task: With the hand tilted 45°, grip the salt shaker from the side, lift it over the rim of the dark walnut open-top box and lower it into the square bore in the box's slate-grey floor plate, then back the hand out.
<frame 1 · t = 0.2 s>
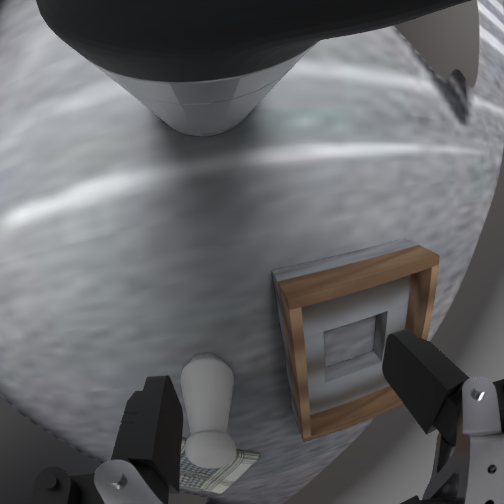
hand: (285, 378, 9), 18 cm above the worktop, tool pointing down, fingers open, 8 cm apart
bore box: (347, 337, 32), on the worktop
salt shaker: (206, 364, 30), on the worktop
dish towel: (189, 462, 38), on the worktop
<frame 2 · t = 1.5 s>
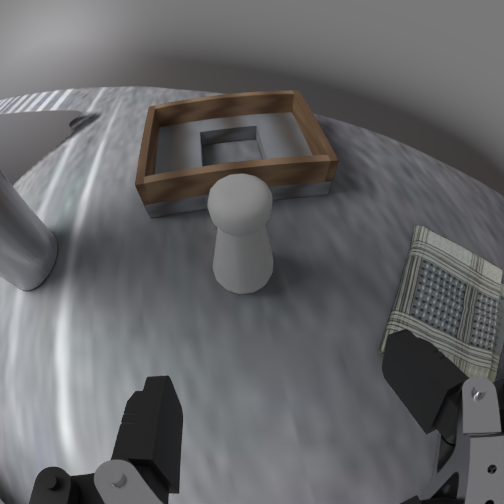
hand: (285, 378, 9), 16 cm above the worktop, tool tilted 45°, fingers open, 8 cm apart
bore box: (232, 159, 37), on the worktop
salt shaker: (243, 275, 29), on the worktop
dish towel: (452, 317, 27), on the worktop
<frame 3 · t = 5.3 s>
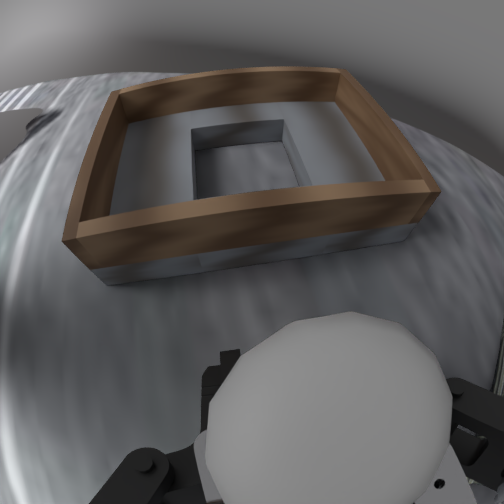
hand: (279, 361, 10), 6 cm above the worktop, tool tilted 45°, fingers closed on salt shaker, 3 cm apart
bore box: (245, 175, 22), on the worktop
salt shaker: (275, 405, 14), on the worktop, touching gripper
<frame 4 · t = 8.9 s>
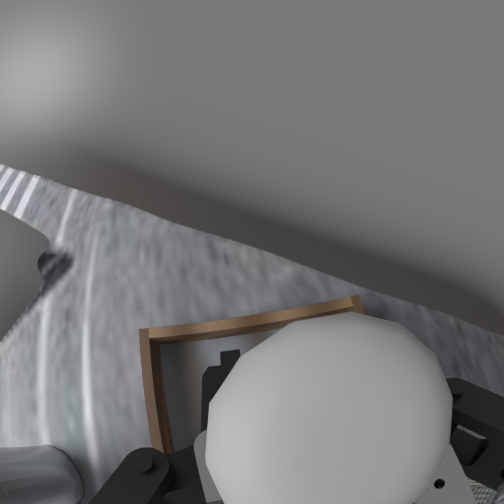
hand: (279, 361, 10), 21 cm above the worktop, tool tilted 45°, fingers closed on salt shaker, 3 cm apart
bore box: (263, 397, 27), on the worktop
salt shaker: (275, 405, 14), point 15 cm above the worktop, touching gripper
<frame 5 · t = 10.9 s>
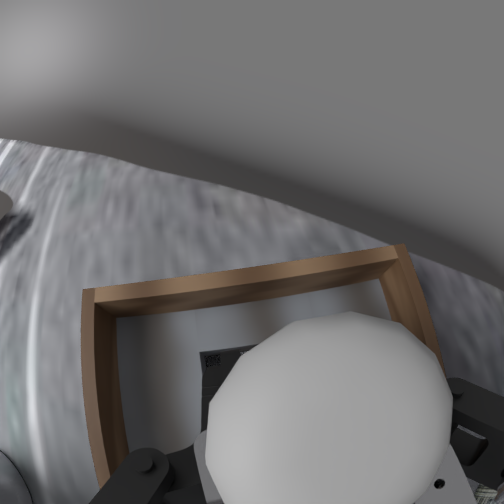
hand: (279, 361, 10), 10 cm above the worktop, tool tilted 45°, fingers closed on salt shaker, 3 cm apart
bore box: (266, 400, 18), on the worktop
salt shaker: (275, 405, 14), point 4 cm above the worktop, touching gripper
when the fingers open (7 cm above the worktop, at t = 12.8 s): salt shaker drops 1 cm, resting in bore box.
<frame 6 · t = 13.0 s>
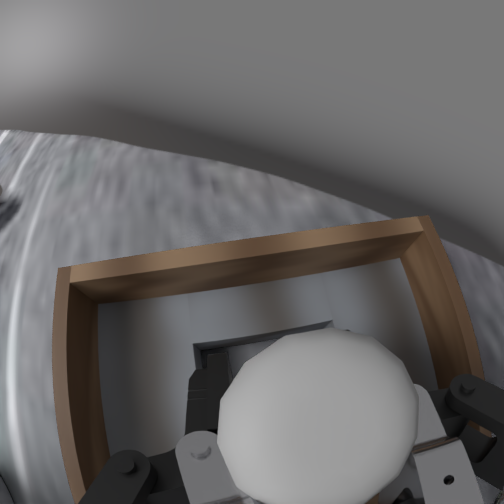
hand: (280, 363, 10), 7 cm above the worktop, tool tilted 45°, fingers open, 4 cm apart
bore box: (273, 401, 15), on the worktop
salt shaker: (276, 410, 15), resting in bore box, touching gripper
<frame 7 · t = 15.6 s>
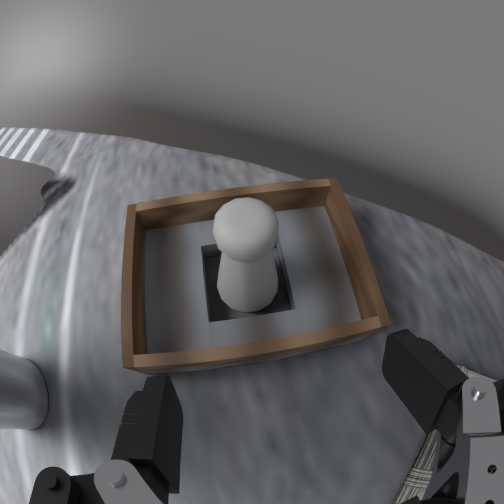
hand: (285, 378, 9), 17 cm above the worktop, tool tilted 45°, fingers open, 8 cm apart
bore box: (246, 285, 29), on the worktop
salt shaker: (247, 292, 29), resting in bore box
dish towel: (469, 449, 19), on the worktop
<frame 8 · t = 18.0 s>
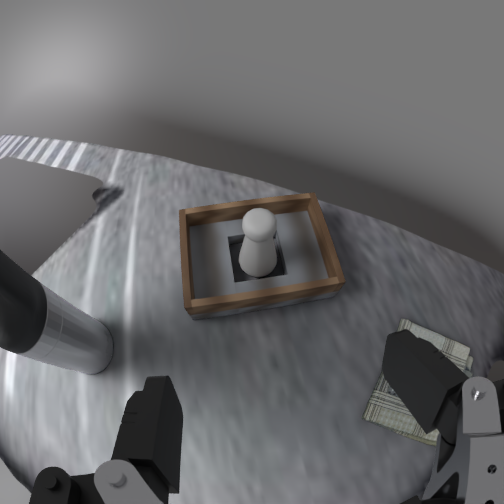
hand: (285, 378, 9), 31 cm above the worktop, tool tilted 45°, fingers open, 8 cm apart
bore box: (256, 262, 46), on the worktop
salt shaker: (257, 266, 45), resting in bore box
dish towel: (422, 387, 35), on the worktop
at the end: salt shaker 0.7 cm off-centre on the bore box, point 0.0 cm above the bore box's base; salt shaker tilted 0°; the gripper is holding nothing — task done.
